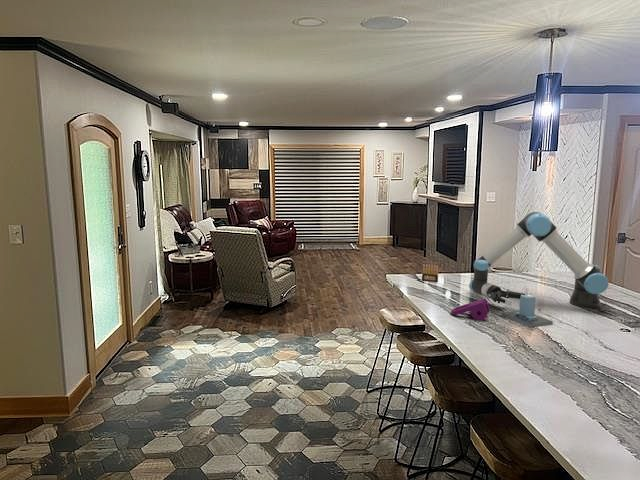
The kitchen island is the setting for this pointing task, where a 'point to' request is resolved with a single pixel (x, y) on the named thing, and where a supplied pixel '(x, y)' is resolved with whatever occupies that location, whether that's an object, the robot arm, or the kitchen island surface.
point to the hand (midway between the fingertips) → (520, 301)
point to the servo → (527, 307)
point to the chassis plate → (527, 322)
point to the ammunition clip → (430, 273)
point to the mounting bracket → (474, 309)
